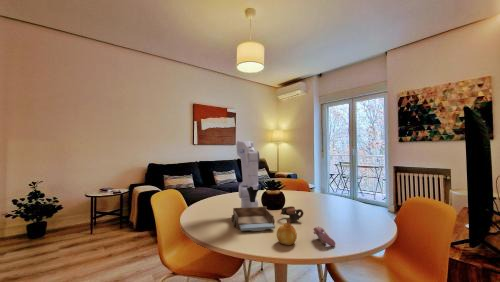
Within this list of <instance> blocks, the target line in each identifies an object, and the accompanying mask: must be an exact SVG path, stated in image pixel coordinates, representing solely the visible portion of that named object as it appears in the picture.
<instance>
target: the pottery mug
mask: <svg viewBox="0 0 500 282" xmlns="http://www.w3.org/2000/svg"><path fill="white" fill-rule="evenodd" d="M304 214H305V212H304V211H303V209H301V208H299V209H296V207H295V206H286V207H283V208H281V212H280V214H279V215H280V216H281V215H283V216H289V217H286V219H285V220H286V223H290V224H291V223H298V221H299V220H300V219H301V218H302V217H303V216H304Z"/></svg>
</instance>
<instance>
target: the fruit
mask: <svg viewBox="0 0 500 282" xmlns="http://www.w3.org/2000/svg"><path fill="white" fill-rule="evenodd" d="M297 233H298V232H297V231H296V228H295V227H294V226H293V225H292V224H291V222H290V223H287V222H285V223H284V224H282V225H280V226H279V227H278V228H277V230H276V238H277V240H278V242H279V243H281V244H282V245H284V246H291V245H293V244H294V243H295V242H296V240H297V238H298V235H297Z"/></svg>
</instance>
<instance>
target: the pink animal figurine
mask: <svg viewBox="0 0 500 282" xmlns="http://www.w3.org/2000/svg"><path fill="white" fill-rule="evenodd" d="M313 234H314V235H316V236H317V238H318V240H319V241H320V242H321V243H323V245H325V244H327V245H328V246H331V247H335V246H336V242H335V240H334V239H333V238H331V237H330V235H328V233H327V232H326V231H325V229H324V228H323V227H320V226H316V227H314V228H313Z"/></svg>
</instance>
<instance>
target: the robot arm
mask: <svg viewBox="0 0 500 282" xmlns="http://www.w3.org/2000/svg"><path fill="white" fill-rule="evenodd" d="M235 148H236V154H237V156H238V157H239V158H240V161H241V163H240V164H241V174H242V181H241V182H240V183H239V184H238V197H239V199H241V202H240V205H241V206H240V208H245V207H259V201H258V199H257V195H258V192H259V190H260V189H259V188H258V187H259V162H260V157H261V156H260V152H259V151H258V150H257V151H256V150H255V148H254V142H253V140H237V141H236V147H235Z"/></svg>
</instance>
